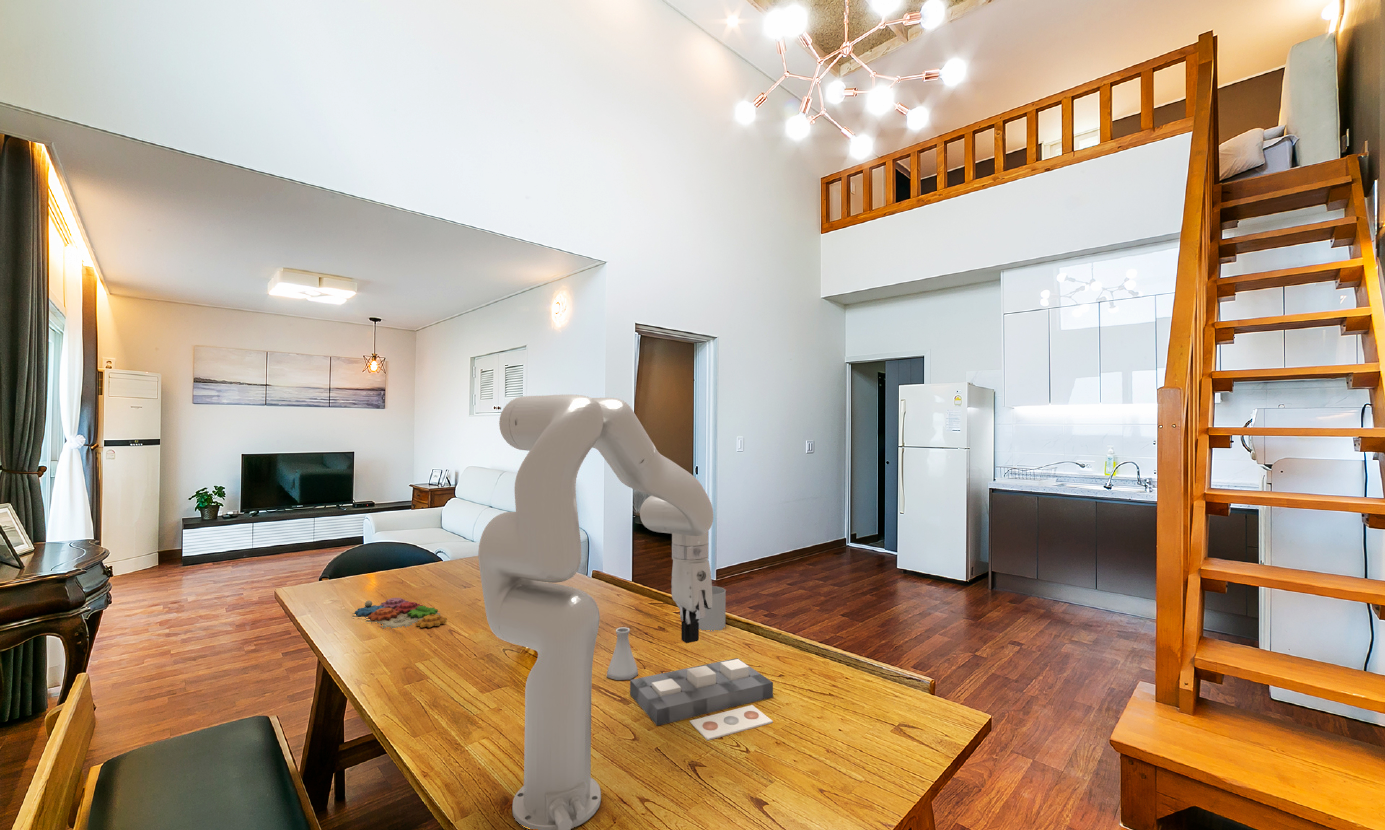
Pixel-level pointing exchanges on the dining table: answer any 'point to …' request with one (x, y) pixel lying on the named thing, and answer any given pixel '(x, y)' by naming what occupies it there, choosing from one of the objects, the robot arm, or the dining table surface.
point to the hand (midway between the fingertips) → (690, 640)
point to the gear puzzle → (400, 614)
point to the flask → (622, 658)
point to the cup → (715, 611)
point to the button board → (698, 694)
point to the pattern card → (730, 722)
